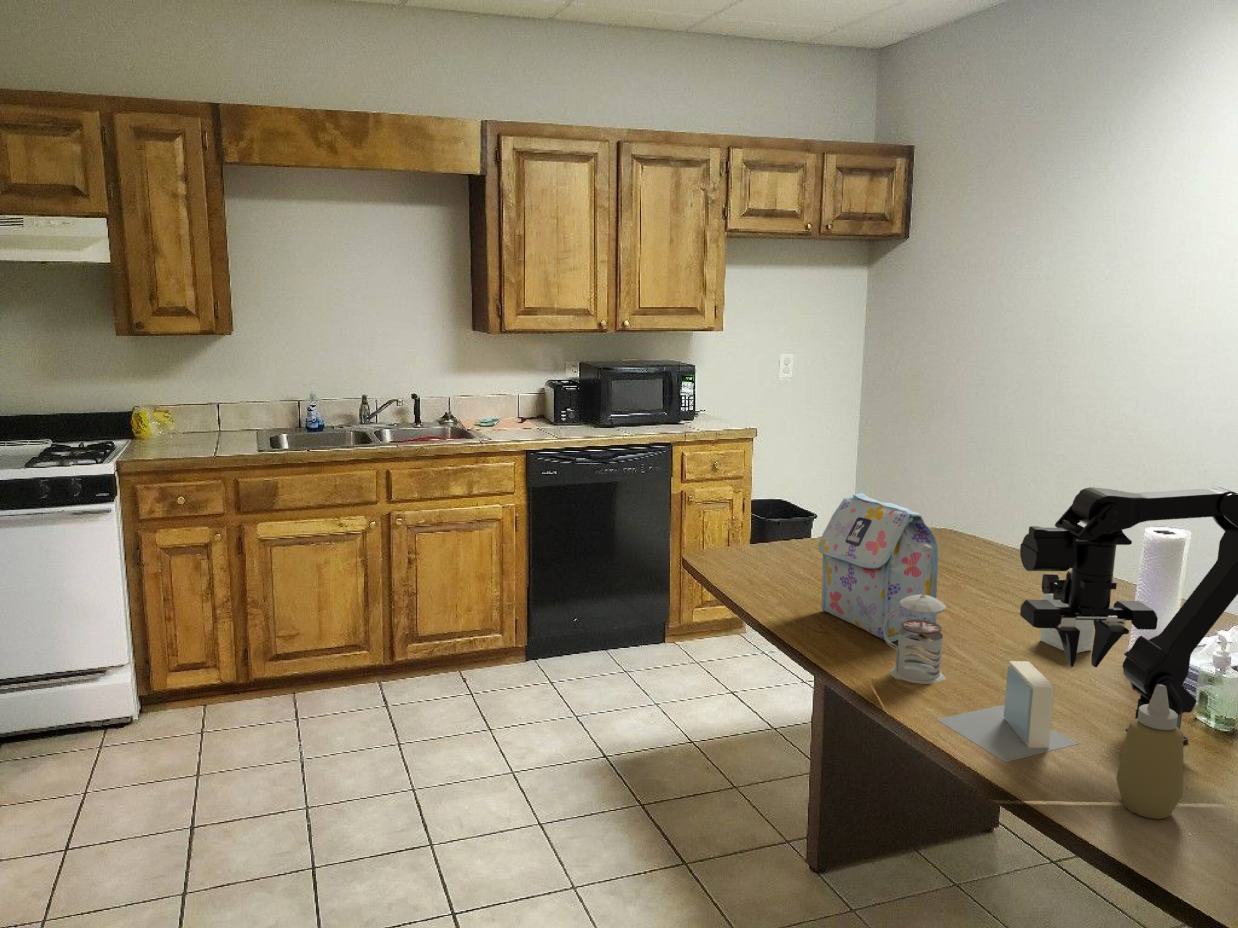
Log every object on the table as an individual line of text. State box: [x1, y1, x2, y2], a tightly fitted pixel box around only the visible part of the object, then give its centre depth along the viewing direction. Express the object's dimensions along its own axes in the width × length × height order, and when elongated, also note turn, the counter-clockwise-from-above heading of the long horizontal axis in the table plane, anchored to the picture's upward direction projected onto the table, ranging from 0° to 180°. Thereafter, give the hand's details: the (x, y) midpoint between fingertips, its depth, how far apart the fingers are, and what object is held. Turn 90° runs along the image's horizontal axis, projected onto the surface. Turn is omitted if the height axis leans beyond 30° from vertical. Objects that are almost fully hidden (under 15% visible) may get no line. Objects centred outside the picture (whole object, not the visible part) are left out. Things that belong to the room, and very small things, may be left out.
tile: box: [1004, 660, 1056, 748], centre depth 148 cm, size 4×10×10 cm, turn 179°
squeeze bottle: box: [1116, 684, 1184, 820], centre depth 126 cm, size 8×8×18 cm
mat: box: [935, 703, 1080, 763], centre depth 149 cm, size 15×15×1 cm
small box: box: [1039, 593, 1095, 654], centre depth 185 cm, size 8×6×10 cm
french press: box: [882, 545, 947, 685], centre depth 169 cm, size 10×12×25 cm
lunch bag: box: [817, 492, 939, 644], centre depth 196 cm, size 22×17×26 cm
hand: (1082, 665), depth 146 cm, fingers open, 3 cm apart
